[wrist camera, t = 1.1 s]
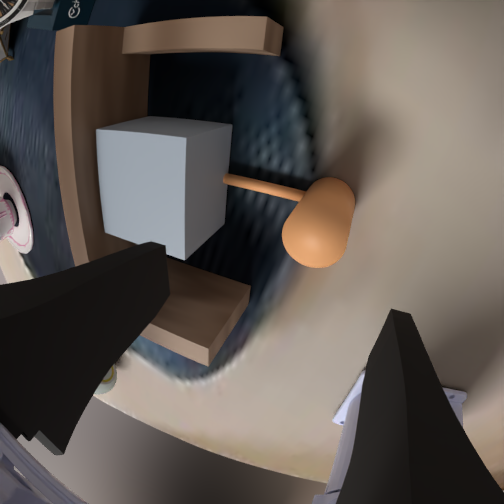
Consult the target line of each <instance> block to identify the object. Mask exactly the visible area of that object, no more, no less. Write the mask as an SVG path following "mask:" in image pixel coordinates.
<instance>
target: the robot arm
mask: <svg viewBox="0 0 504 504" xmlns="http://www.w3.org/2000/svg"><path fill="white" fill-rule="evenodd" d="M169 296H170V286H169V277H168V266H167V255H166V245H162V244H159V243H156V242H152V241H150V242H146V243H142V244H139V245H135V246H132V247H129V248H127V249H124V250H121V251H118V252H115V253H113V254H110V255H107V256H104V257H101V258H99V259H96V260H93V261H91V262H88V263H85V264H82V265H79V266H76V267H73V268H70V269H67V270H64V271H61V272H57V273H54V274H50V275H47V276H43V277H39V278H35V279H31V280H25V281H20V282H14V283H9V284H3V285H0V504H52V503H53V504H88V503H87V502H85V501H84V500H83V499H82V498H80V497H79V496H78V495H76V494H75V493H74V492H73V491H71V490H70V489H69V488H68V487H66V486H65V485H64V484H63V483H61V482H60V481H59V480H58V479H57V478H56V477H55V476H53V475H52V474H51V473H50V472H49V471H48V470H47V469H46V468H45V467H43V466H42V465H41V464H40V463H39V462H38V461H37V460H36V459H35V458H34V457H33V456H32V455H31V454H30V453H29V452H28V451H27V450H26V449H25V448H24V447H23V446H22V445H21V444H20V443H19V442H18V441H17V440H16V439H17V438H18V437H19V436H20V435H21V434H22V435H23V436H24V437H25V438H26V439H27V440H28V441H31V439H32V438H33V437H35V438H37V439H38V440H39V441H40V442H41V443H42V444H43V445H44V446H45V447H46V448H47V449H48V450H49V451H51V452H52V453H53V454H54V455H63V454H64V453H65V450H66V447H67V445H68V443H69V440H70V438H71V436H72V433H73V431H74V429H75V427H76V424H77V423H78V421H79V419H80V417H81V415H82V413H83V411H84V409H85V407H86V406H87V404H88V402H89V401H90V399H91V397H92V396H93V394H94V393H95V391H96V389H97V388H98V386H99V385H100V383H101V382H102V380H103V379H104V377H105V376H106V374H107V373H108V371H109V370H110V368H111V367H112V366H113V365H114V363H115V362H116V361H117V360H118V359H119V357H120V356H121V355H122V354H123V353H124V352H125V351H126V350H127V348H128V347H129V346H130V345H131V344H132V343H133V342H134V341H135V339H136V338H137V337H138V336H139V335H140V334H141V333H142V332H143V330H144V329H145V328H146V327H147V326H148V325H149V324H150V322H151V321H152V320H153V319H154V318H155V317H156V315H157V314H158V312H159V311H160V309H161V308H162V306H163V305H164V303H165V302H166V300H167V299H168V297H169ZM466 399H467V393H466V392H463V391H458V390H453V389H448V388H443V387H442V386H441V383H440V381H439V379H438V377H437V374H436V372H435V370H434V367H433V365H432V363H431V361H430V358H429V356H428V354H427V351H426V349H425V346H424V344H423V342H422V339H421V337H420V335H419V332H418V330H417V327H416V325H415V323H414V321H413V318H412V316H411V314H409V313H406V312H402V311H398V310H394V309H391V310H390V312H389V315H388V317H387V319H386V321H385V324H384V326H383V328H382V330H381V332H380V334H379V336H378V339H377V341H376V343H375V345H374V347H373V349H372V351H371V353H370V355H369V358H368V362H367V367H366V370H364V371H362V373H361V374H360V376H359V378H358V379H357V381H356V383H355V384H354V386H353V387H352V389H351V391H350V392H349V394H348V395H347V397H346V398H345V400H344V402H343V403H342V405H341V406H340V408H339V409H338V411H337V412H336V414H335V415H334V417H333V420H332V421H333V422H334V423H336V424H340V425H343V430H342V434H341V438H340V442H339V445H338V449H337V453H336V456H335V460H334V463H333V467H332V470H331V474H330V477H329V480H328V483H327V487H326V490H325V493H324V495H315V496H314V499H313V501H312V504H504V492H503V491H502V489H501V488H500V487H499V485H498V484H497V482H496V481H495V480H494V478H493V477H492V475H491V474H490V472H489V471H488V469H487V468H486V466H485V465H484V463H483V461H482V460H481V458H480V457H479V455H478V453H477V452H476V450H475V449H474V447H473V445H472V444H471V442H470V440H469V438H468V437H467V435H466V433H465V431H464V429H463V414H462V403H463V402H464V401H465V400H466ZM14 466H15V467H16V468H17V469H18V470H19V471H20V472H21V473H22V474H23V475H24V476H25V477H26V478H24V477H23V476H22V475H20V474H19V473H18V472H16V471H15V470H14Z"/></svg>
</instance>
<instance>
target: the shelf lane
mask: <svg viewBox="0 0 504 504" xmlns="http://www.w3.org/2000/svg"><path fill="white" fill-rule="evenodd" d="M283 28H284V27H282V26H281V25H279V24H278V23H276V22H275V21H273V20H272V19H270V18H268V17H263V16H219V17H200V18H187V19H177V20H168V21H160V22H153V23H146V24H140V25H134V26H129V27H113V26H96V25H73V26H70V27H67V28H65V29H62V30H59V31H57V32H56V42H55V57H54V127H55V143H56V155H57V165H58V174H59V182H60V189H61V196H62V203H63V209H64V215H65V220H66V226H67V231H68V236H69V241H70V245H71V250H72V254H73V259H74V263H75V267H76V266H79V265H82V264H85V263H88V262H91V261H93V260H96V259H99V258H101V257H104V256H107V255H110V254H113V253H115V252H118V251H121V250H124V249H127V248H129V247H132V246H135V245H139V244H136V243H133V242H130V241H128V240H125V239H122V238H119V237H116V236H114V235H111V234H108V233H105V229H104V222H103V214H102V206H101V196H100V186H99V175H98V161H97V142H96V129H99V128H103V127H106V126H110V125H114V124H118V123H122V122H126V121H130V120H135V119H139V118H144V117H147V109H148V85H149V68H150V55H151V54H163V53H185V52H227V53H249V54H263V55H274V56H280V53H281V44H282V36H283ZM167 266H168V277H169V286H170V296H169V297H168V299H167V300H166V302H165V303H164V305H163V306H162V308H161V309H160V311H159V312H158V314H157V315H156V317H155V318H154V319H153V320H152V321H151V322H150V324H149V325H148V326H147V327H146V328H145V329H144V330H143V332H142V333H141V334H140V335H141V336H143V337H145V338H147V339H149V340H151V341H153V342H155V343H157V344H159V345H161V346H163V347H165V348H168V349H170V350H172V351H174V352H176V353H178V354H181V355H183V356H185V357H187V358H190V359H192V360H194V361H196V362H199V363H201V364H203V365H206V366H209V365H210V363H211V362H212V360H213V359H214V357H215V356H216V354H217V352H218V351H219V349H220V348H221V346H222V345H223V343H224V342H225V340H226V338H227V337H228V335H229V334H230V332H231V331H232V329H233V328H234V326H235V324H236V323H237V321H238V320H239V318H240V317H241V315H242V313H243V312H244V310H245V309H246V307H247V305H248V303H249V296H250V288H251V286H250V285H247V284H244V283H241V282H238V281H235V280H232V279H229V278H226V277H223V276H220V275H217V274H214V273H211V272H208V271H205V270H202V269H199V268H196V267H193V266H190V265H187V264H184V263H181V262H179V261H176V260H173V259H170V258H167Z"/></svg>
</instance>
